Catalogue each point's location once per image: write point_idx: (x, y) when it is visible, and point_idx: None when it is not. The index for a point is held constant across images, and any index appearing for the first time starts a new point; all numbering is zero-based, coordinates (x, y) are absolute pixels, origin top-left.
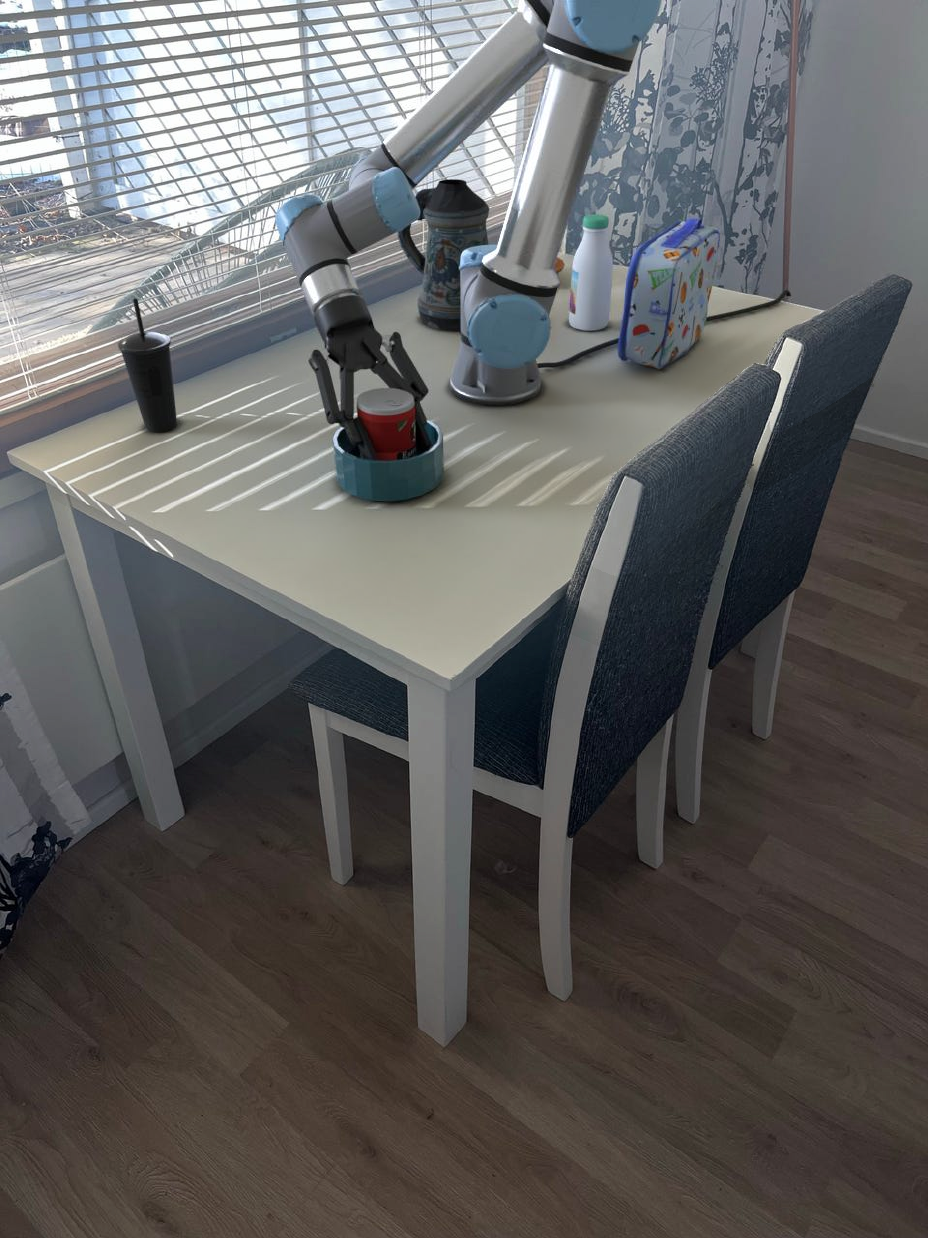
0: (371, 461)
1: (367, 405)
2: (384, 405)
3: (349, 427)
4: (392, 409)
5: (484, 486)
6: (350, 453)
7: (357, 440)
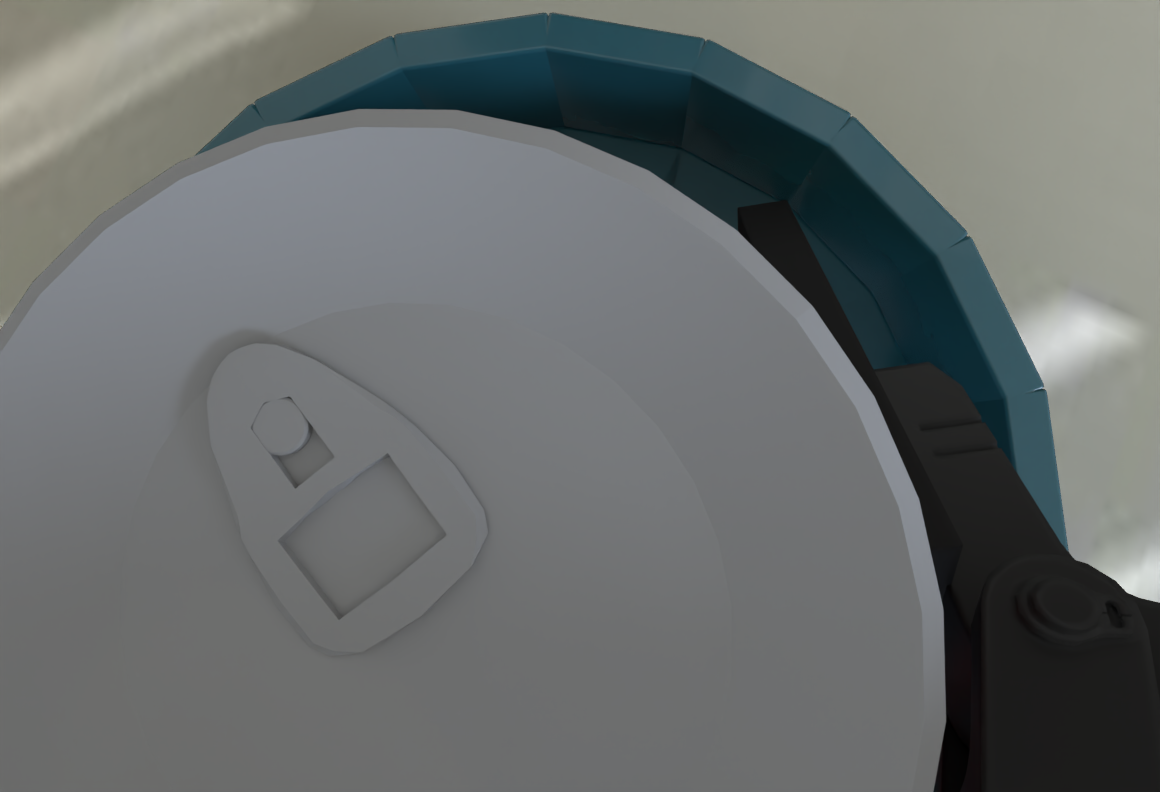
0: (837, 121)
1: (781, 573)
2: (494, 463)
3: (1026, 492)
4: (452, 150)
5: (113, 168)
6: None
7: (915, 374)
